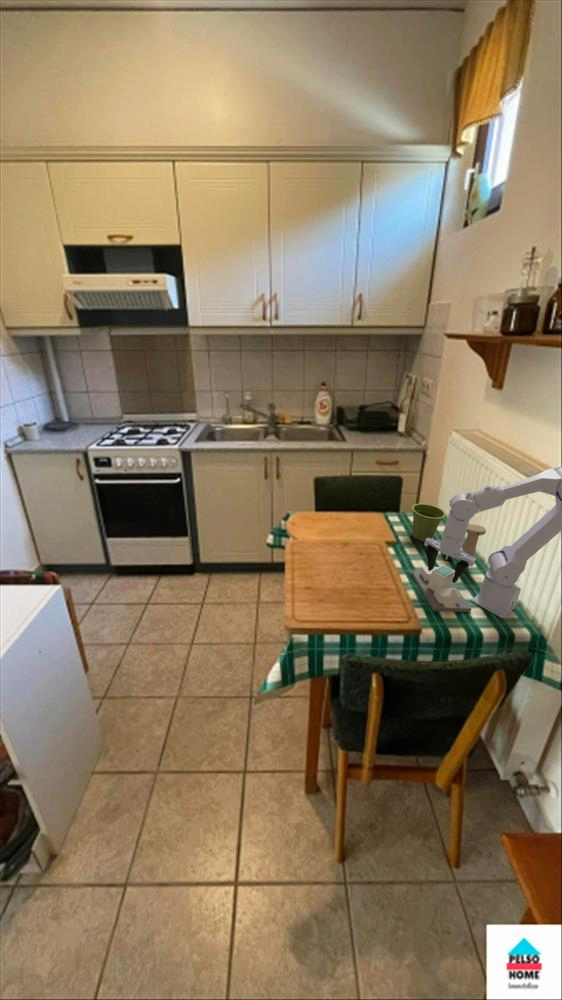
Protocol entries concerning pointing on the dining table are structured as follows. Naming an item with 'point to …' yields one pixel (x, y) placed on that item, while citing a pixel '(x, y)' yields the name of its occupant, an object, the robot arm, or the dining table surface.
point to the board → (432, 598)
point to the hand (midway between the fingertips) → (442, 575)
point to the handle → (472, 539)
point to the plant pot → (426, 520)
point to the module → (441, 578)
